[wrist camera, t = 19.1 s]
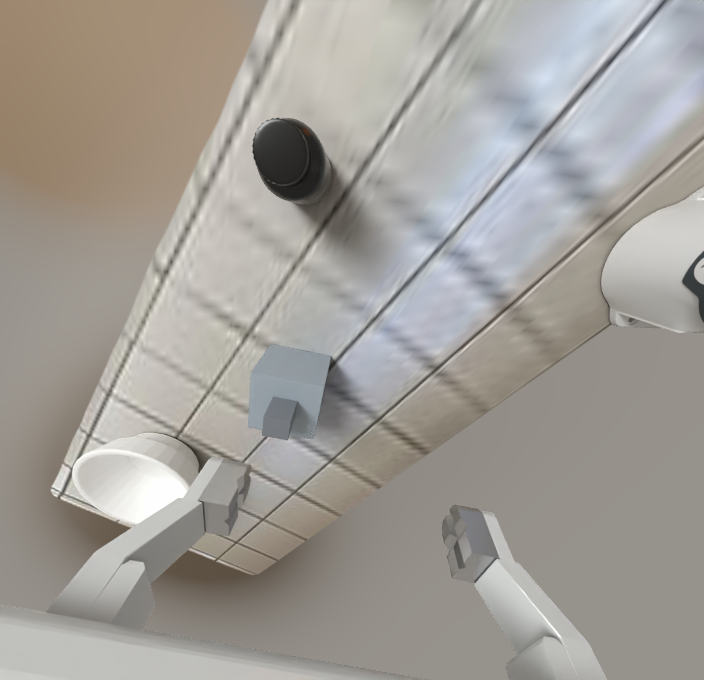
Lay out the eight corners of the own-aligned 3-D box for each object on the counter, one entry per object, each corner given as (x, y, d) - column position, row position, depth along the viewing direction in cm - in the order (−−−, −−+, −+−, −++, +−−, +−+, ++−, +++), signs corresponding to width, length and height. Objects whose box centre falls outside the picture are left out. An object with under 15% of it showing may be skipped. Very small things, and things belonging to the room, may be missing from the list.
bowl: (194, 502, 63) (172, 541, 55) (100, 461, 58) (60, 498, 50) (234, 450, 55) (214, 488, 47) (128, 397, 49) (86, 430, 42)
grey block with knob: (331, 356, 44) (320, 406, 32) (321, 402, 48) (308, 461, 37) (271, 343, 43) (238, 390, 32) (266, 392, 48) (236, 448, 36)
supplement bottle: (326, 212, 34) (309, 210, 24) (275, 196, 34) (235, 186, 23) (339, 152, 32) (327, 118, 21) (284, 133, 31) (242, 88, 20)
